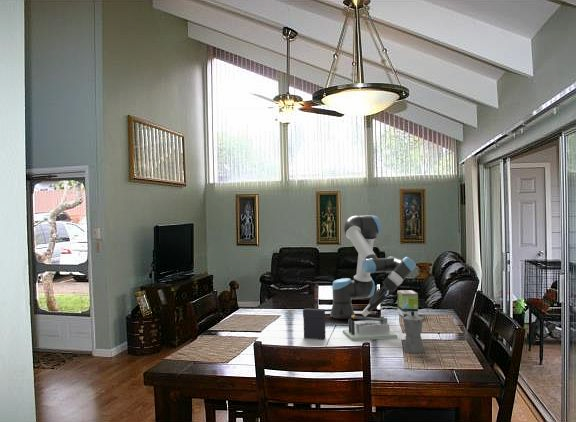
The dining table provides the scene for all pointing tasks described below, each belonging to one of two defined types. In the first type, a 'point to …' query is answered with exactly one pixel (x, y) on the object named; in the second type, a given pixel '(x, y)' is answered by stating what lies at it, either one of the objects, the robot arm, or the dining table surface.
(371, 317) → the lever
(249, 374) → the dining table surface
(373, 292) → the robot arm
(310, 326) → the calculator
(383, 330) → the knife switch
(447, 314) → the dining table surface
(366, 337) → the board
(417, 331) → the coffeepot
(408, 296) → the tea box
